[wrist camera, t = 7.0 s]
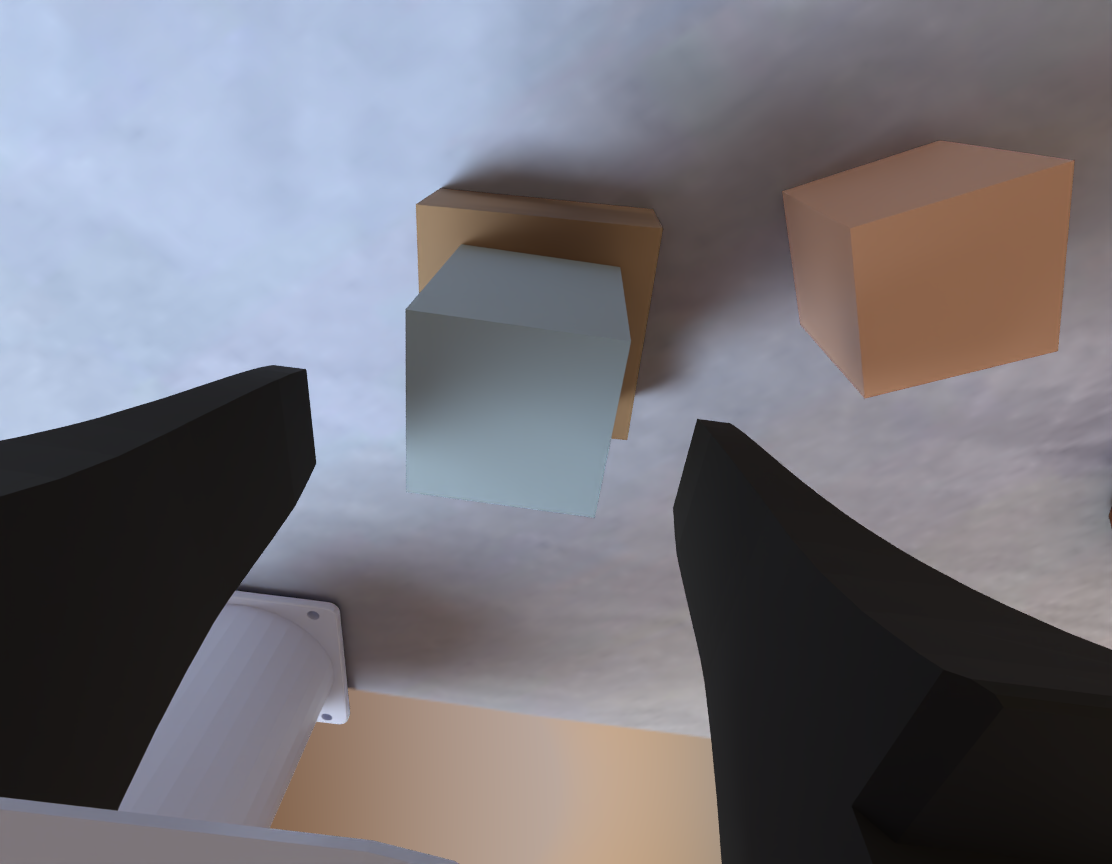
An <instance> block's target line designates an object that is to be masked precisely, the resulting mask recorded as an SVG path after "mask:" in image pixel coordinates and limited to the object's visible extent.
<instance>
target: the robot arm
mask: <svg viewBox="0 0 1112 864" xmlns="http://www.w3.org/2000/svg"><path fill="white" fill-rule="evenodd" d="M315 465H316V456H315V447H314V437H313V428H312V419H311V409H310V400H309V390H308V381H307V372H306V369H300V368H292V367H284V366H276V365H271V366H265V367H260V368H256V369H253V370H249V371H245V372H242V373H239V374H236V375H232V376H229V377H226V378H223V379H220V380H217V381H214V382H211V383H208V384H205V385H202V386H199V387H196V388H193V389H190V390H187V391H184V392H181V393H178V394H175V395H172V396H169V397H166V398H163V399H159V400H156V401H153V402H149V403H146V404H143V405H140V406H136V407H133V408H130V409H126V410H123V411H120V412H116V413H113V414H110V415H106V416H103V417H100V418H96V419H92V420H89V421H85V422H81V423H77V424H73V425H69V426H65V427H61V428H57V429H52V430H48V431H43V432H39V433H35V434H30V435H26V436H21V437H17V438H12V439H7V440H2V441H0V864H458V863H457V862H455V861H453V860H449V859H445V858H441V857H437V856H433V855H429V854H425V853H421V852H417V851H413V850H409V849H405V848H401V847H397V846H393V845H389V844H385V843H381V842H377V841H373V840H364V839H355V838H348V837H338V836H330V835H321V834H313V833H305V832H296V831H287V830H279V829H270V826H271V823H272V821H273V819H274V817H275V814H276V812H277V810H278V808H279V805H280V803H281V801H282V798H283V796H284V794H285V792H286V789H287V787H288V785H289V782H290V780H291V778H292V776H293V773H294V771H295V769H296V766H297V764H298V762H299V760H300V757H301V755H302V753H303V751H304V748H305V746H306V744H307V741H308V739H309V737H310V735H311V732H312V730H313V728H314V725H315V723H316V721H317V722H326V723H334V724H343V723H346V722H347V721H348V718H349V715H350V707H349V697H348V687H347V677H346V667H345V657H344V647H343V637H342V627H341V617H340V611H339V608H338V607H337V606H336V605H334V604H333V603H329V602H323V601H315V600H307V599H299V598H291V597H283V596H275V595H267V594H259V593H251V592H243V591H235V590H236V589H237V588H238V586H239V585H240V583H241V582H242V581H243V579H244V578H245V576H246V575H247V574H248V572H249V571H250V569H251V568H252V567H253V565H254V564H255V562H256V561H257V560H258V558H259V557H260V556H261V554H262V553H263V551H264V550H265V549H266V547H267V546H268V544H269V543H270V542H271V540H272V539H273V537H274V536H275V534H276V533H277V532H278V530H279V529H280V527H281V526H282V524H283V523H284V522H285V520H286V519H287V517H288V516H289V514H290V513H291V511H292V510H293V508H294V507H295V505H296V503H297V502H298V500H299V498H300V496H301V494H302V492H303V490H304V488H305V486H306V484H307V482H308V480H309V478H310V475H311V473H312V471H313V469H314V467H315ZM673 514H674V529H675V541H676V552H677V557H678V562H679V567H680V571H681V576H682V580H683V585H684V589H685V594H686V598H687V602H688V607H689V611H690V615H691V620H692V624H693V629H694V633H695V637H696V642H697V646H698V650H699V655H700V659H701V665H702V670H703V676H704V682H705V690H706V698H707V707H708V715H709V724H710V733H711V742H712V752H713V762H714V773H715V783H716V794H717V806H718V820H719V833H720V846H721V860H722V864H1112V650H1111V649H1108V648H1106V647H1103V646H1100V645H1098V644H1095V643H1093V642H1090V641H1087V640H1085V639H1082V638H1080V637H1077V636H1075V635H1072V634H1070V633H1067V632H1065V631H1063V630H1060V629H1058V628H1056V627H1054V626H1051V625H1049V624H1047V623H1045V622H1042V621H1040V620H1038V619H1036V618H1033V617H1031V616H1029V615H1027V614H1024V613H1022V612H1020V611H1018V610H1015V609H1013V608H1011V607H1009V606H1006V605H1004V604H1002V603H1000V602H998V601H996V600H994V599H992V598H990V597H988V596H986V595H984V594H982V593H979V592H977V591H975V590H973V589H971V588H969V587H967V586H966V585H964V584H962V583H960V582H958V581H956V580H954V579H952V578H950V577H949V576H947V575H945V574H943V573H941V572H939V571H937V570H935V569H933V568H932V567H930V566H928V565H926V564H924V563H922V562H921V561H919V560H917V559H915V558H914V557H912V556H910V555H908V554H907V553H905V552H903V551H902V550H900V549H898V548H897V547H895V546H894V545H892V544H890V543H889V542H887V541H886V540H884V539H882V538H881V537H879V536H878V535H876V534H874V533H873V532H871V531H870V530H868V529H866V528H865V527H863V526H862V525H860V524H859V523H858V522H856V521H855V520H853V519H852V518H850V517H849V516H847V515H846V514H845V513H843V512H842V511H840V510H839V509H838V508H836V507H835V506H834V505H832V504H831V503H830V502H828V501H827V500H826V499H824V498H823V497H821V496H820V495H819V494H817V493H816V492H815V491H814V490H812V489H811V488H810V487H809V486H807V485H806V484H805V483H803V482H802V481H801V480H800V479H799V478H797V477H796V476H795V475H794V474H792V473H791V472H790V471H789V470H788V469H786V468H785V467H784V466H783V465H782V464H780V463H779V462H778V461H777V460H776V459H774V458H773V457H772V456H771V455H770V454H769V453H767V452H766V451H765V450H764V449H763V448H761V447H760V446H759V445H758V444H757V443H756V442H754V441H753V440H752V439H751V438H749V437H748V436H747V435H746V434H745V433H743V432H742V431H741V430H739V429H738V428H737V427H735V426H734V425H732V424H730V423H724V422H716V421H708V420H700V419H697V422H696V425H695V429H694V433H693V437H692V440H691V444H690V448H689V451H688V455H687V459H686V462H685V466H684V470H683V473H682V477H681V481H680V484H679V488H678V492H677V496H676V499H675V503H674V507H673ZM314 611H315V612H314Z"/></svg>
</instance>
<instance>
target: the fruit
mask: <svg viewBox="0 0 1112 864" xmlns="http://www.w3.org/2000/svg"><path fill="white" fill-rule="evenodd" d="M1109 519H1110V523H1111V527H1112V508H1111V510H1110V513H1109Z"/></svg>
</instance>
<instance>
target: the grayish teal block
mask: <svg viewBox="0 0 1112 864" xmlns="http://www.w3.org/2000/svg"><path fill="white" fill-rule="evenodd" d="M630 344H631V338H630V331H629V324H628V317H627V310H626V303H625V296H624V289H623V282H622V276H621V269H620V267H616V266H609V265H602V264H595V263H588V262H581V261H574V260H567V259H561V258H554V257H547V256H540V255H533V254H526V253H519V252H512V251H505V250H498V249H491V248H484V247H477V246H470V245H463V244H461V245H460V246H459V247H458V249H457V250H456V251H455V252H454V253H453V254H452V256H451V257H450V258H449V259H448V260H447V261H446V263H445V264H444V265H443V266H442V267H441V269H440V270H439V271H438V272H437V273H436V274H435V276H434V277H433V278H432V279H431V280H430V281H429V283H428V284H427V285H426V286H425V287H424V288H423V290H422V291H421V292H420V293H419V294H418V296H417V297H416V298H415V299H414V300H413V301H412V303H411V304H410V305H409V306H408V307H407V308H406V492H409V493H416V494H423V495H431V496H438V497H445V498H453V499H460V500H467V501H475V502H482V503H489V504H497V505H504V506H511V507H519V508H526V509H533V510H540V511H548V512H555V513H562V514H570V515H577V516H584V517H592V518H595V514H596V510H597V505H598V500H599V495H600V490H601V485H602V480H603V475H604V471H605V466H606V461H607V456H608V451H609V446H610V441H611V437H612V432H613V427H614V422H615V417H616V412H617V407H618V402H619V398H620V393H621V388H622V383H623V378H624V373H625V368H626V364H627V359H628V354H629V349H630Z"/></svg>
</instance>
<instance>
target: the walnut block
mask: <svg viewBox="0 0 1112 864" xmlns="http://www.w3.org/2000/svg"><path fill="white" fill-rule="evenodd" d="M416 219H417V248H418V276H419V293H420V292H421V291H422V290H423V288H424V287H425V286H426V285H427V284H428V283H429V281H430V280H431V279H432V278H433V277H434V276H435V274H436V273H437V272H438V271H439V270H440V269H441V267H442V266H443V265H444V264H445V263H446V261H447V260H448V259H449V258H450V257H451V256H452V254H453V253H454V252H455V251H456V250H457V249H458V247H459V246H460V245H461V244H463V245H470V246H477V247H484V248H491V249H498V250H505V251H512V252H519V253H526V254H533V255H540V256H547V257H554V258H561V259H567V260H574V261H581V262H588V263H595V264H602V265H609V266H616V267H620V269H621V276H622V282H623V289H624V296H625V303H626V310H627V317H628V324H629V331H630V338H631V344H630V349H629V354H628V359H627V364H626V368H625V373H624V378H623V383H622V388H621V393H620V398H619V402H618V407H617V412H616V417H615V422H614V427H613V432H612V437H611V439H622V440H627V438H628V432H629V426H630V420H631V414H632V408H633V402H634V396H635V391H636V385H637V379H638V373H639V367H640V361H641V355H642V349H643V343H644V338H645V332H646V326H647V320H648V314H649V308H650V302H651V296H652V290H653V284H654V279H655V273H656V267H657V261H658V255H659V249H660V243H661V237H662V231H663V228H662V226H661V224H660V222H659V220H658V218H657V216H656V214H655V212H654V210H653V209H647V208H637V207H627V206H617V205H607V204H596V203H586V202H576V201H566V200H556V199H545V198H535V197H525V196H515V195H505V194H494V193H484V192H474V191H464V190H454V189H443V188H440V189H439V190H437V191H436V192H434V193H433V194H431V195H429V196H428V197H426V198H425V199H423V200H422V201H420V202H419V203H417V204H416Z"/></svg>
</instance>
